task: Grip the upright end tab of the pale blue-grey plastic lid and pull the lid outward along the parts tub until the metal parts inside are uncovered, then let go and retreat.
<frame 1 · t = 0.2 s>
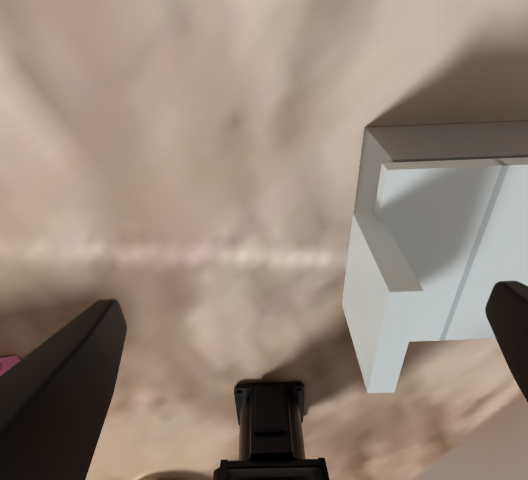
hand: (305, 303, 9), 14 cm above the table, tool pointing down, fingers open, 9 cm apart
tub: (461, 208, 23), on the table
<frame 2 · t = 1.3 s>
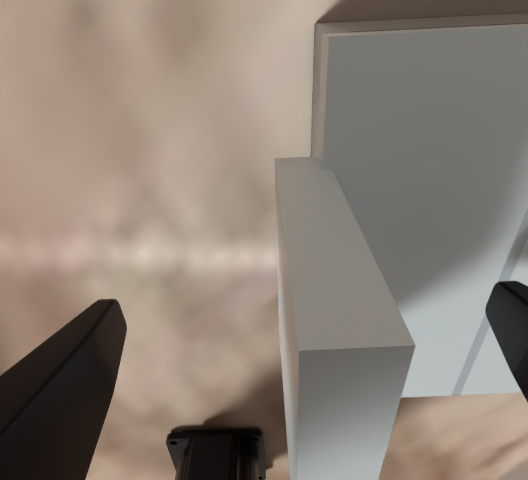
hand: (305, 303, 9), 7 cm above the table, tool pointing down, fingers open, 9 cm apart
tub: (482, 173, 14), on the table
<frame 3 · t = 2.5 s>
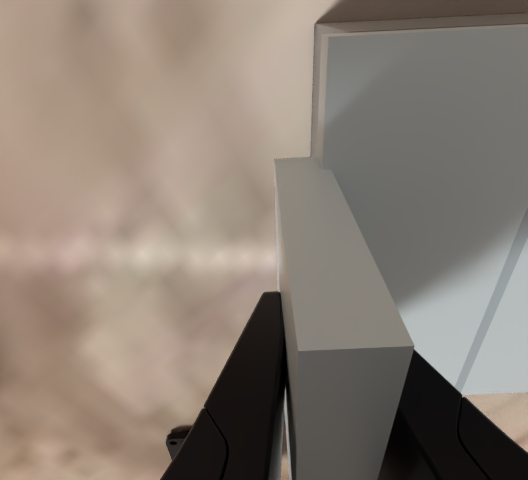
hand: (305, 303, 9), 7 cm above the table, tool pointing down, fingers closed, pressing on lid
tub: (482, 173, 14), on the table
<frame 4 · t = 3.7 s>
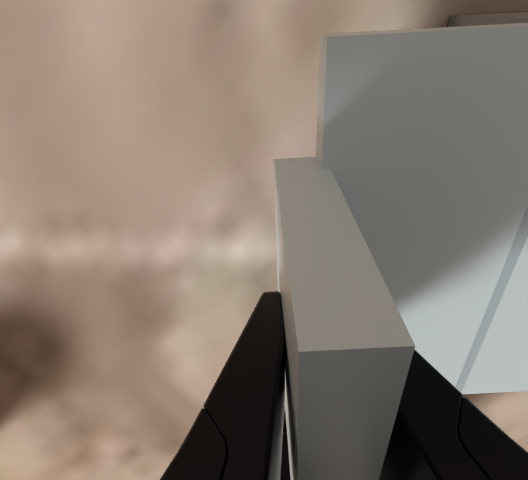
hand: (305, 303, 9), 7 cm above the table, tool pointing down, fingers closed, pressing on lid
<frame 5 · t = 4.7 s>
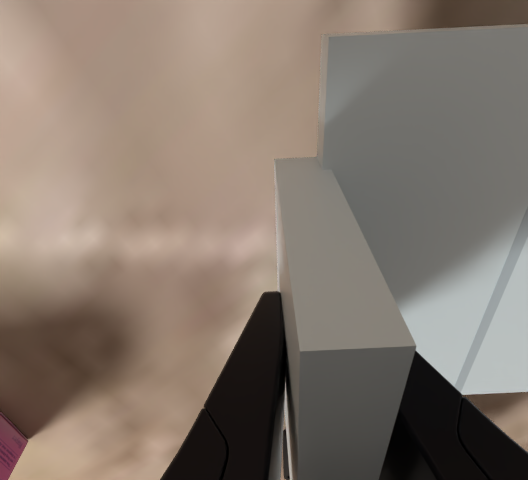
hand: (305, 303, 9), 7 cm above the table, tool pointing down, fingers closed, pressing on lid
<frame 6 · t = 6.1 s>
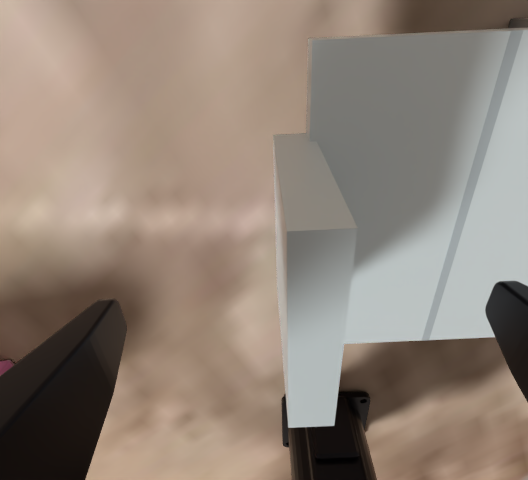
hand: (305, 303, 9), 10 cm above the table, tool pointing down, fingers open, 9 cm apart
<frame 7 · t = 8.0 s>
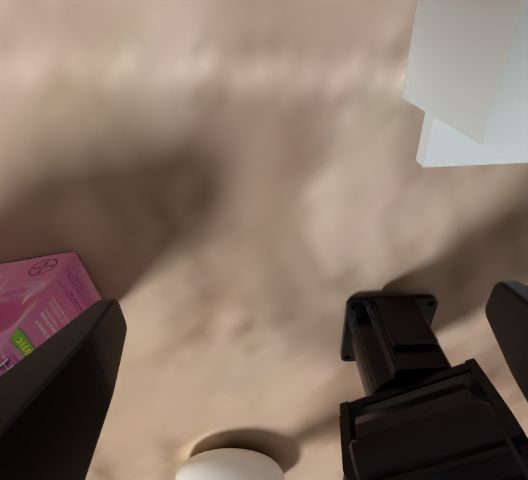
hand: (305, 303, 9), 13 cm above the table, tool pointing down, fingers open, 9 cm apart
flower in vase: (238, 459, 39), on the table
box: (26, 289, 25), on the table
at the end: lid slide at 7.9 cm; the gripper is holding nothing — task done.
